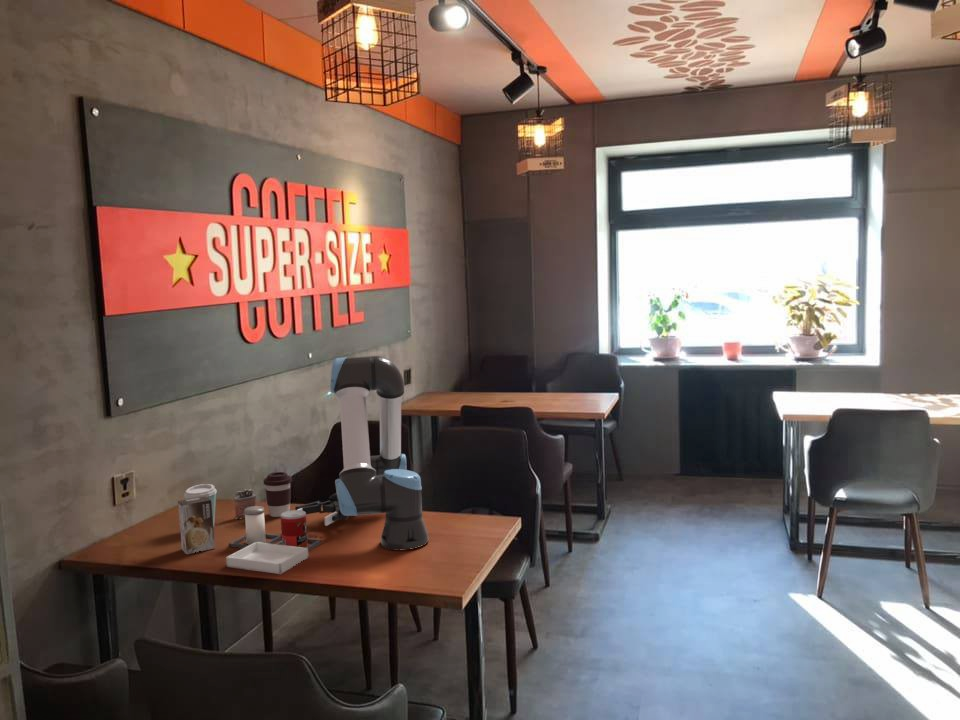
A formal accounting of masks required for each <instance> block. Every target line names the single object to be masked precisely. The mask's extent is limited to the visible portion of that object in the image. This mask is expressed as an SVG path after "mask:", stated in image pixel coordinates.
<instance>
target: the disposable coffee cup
mask: <svg viewBox="0 0 960 720" xmlns="http://www.w3.org/2000/svg"><path fill="white" fill-rule="evenodd" d="M217 493H218V491H217V488H215V485H214V484H212V483H211V484H209V483H205V484H204V483H201V484H196V485H193V486H191V487H188V488H187V489H186V490H185V492H184V493H183V497H184V500H187V499H193V498H198V497H204V496H206V497H208V498H209V499H210V500H211V503H212V514H213V527H215V518H216V502H217V501H216V500H217Z"/></svg>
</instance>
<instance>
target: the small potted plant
mask: <svg viewBox="0 0 960 720" xmlns="http://www.w3.org/2000/svg"><path fill="white" fill-rule="evenodd" d="M237 496H238V497H237ZM233 501H234V509H235V510H234V512H235V517H234V519H235V518H237V519H240V518H245V514H244V509H246V508H248V507H253V506H257V494H254V489H252V488H250V489H246V488H244V489H243V490H237V491H236V492H235V498H233Z"/></svg>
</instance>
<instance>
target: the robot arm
mask: <svg viewBox="0 0 960 720" xmlns="http://www.w3.org/2000/svg"><path fill="white" fill-rule="evenodd" d="M401 373H402V372H401V371H400V370H399V368H398V367H397V365H395V364H394V363H393V361H391V360H390V359H388V358H386V357H384V356H382V355H372V356H367V355H366V356H353V357H351V356H348V357H347V356H345V357H337V358H334V360H333V361H332V363H331V374H330V386H329V387H330V393H333V394H334V397H335V399H336V400H337V401H338V402H339V404H340V405H339V408H340V421H341V423H340V424H341V425H340V426H341V441H342V459H343V461H342V462H343V469H342V470H341V471H340V472H339V475H338V476H339V478H337V479H335V481H334V484H335V490H336V492H335V493H333V494H332V495H330V496H329V497H328V499H327V501H326V500H325V501H324V502H321V500H317V501H313V502H310V503H305V504H301V505H297V506H295V508H294V510H301V511H305V512H306V515H311V514H316V513H317V514H325V513H326V514H328V515H326V516H324V526H326V527H327V526H329V525H330V524H333V523H334V522H336V521H338V520H339V521H340V520H346V521H347V520H348V519H349V517H350V516H351V517H352V516H353V517H354V516H355V517H358V516H363V515H364V516H366V515H377V514H378V515H379V514H385V522H384V525H383V529H382V531H381V536H380V543H381V544H380V545H381V546H382V548H384V547H386V548H385V549H387V548H389V549H388V550H390V549H399V550H398V551H401V550H400V549H410V548H415V547H418V546H421V545H424V544H425V543H427V542H428V540H429V538H430V535H429V532H428V530H427V527H426V524H425V522H424V519H423V502H422V501H423V500H422V489H423V487H422V480H421V479H422V478H421V476H420V474H419V473H417V472H415V471H412V470H408V469H407V456H406V454H405V453H402V398H403V396H404V394H405V382H404V377H403V375H402V374H401ZM371 391H376V392H375V394H376V395H377V396H378V397H379V455H371V450H370V449H371V448H370V437H369V424H368V423H369V421H368V409H367V407H368V406H367V400H368V399H369V398H370V396H371ZM428 543H429V542H428Z"/></svg>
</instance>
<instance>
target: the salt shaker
mask: <svg viewBox="0 0 960 720" xmlns="http://www.w3.org/2000/svg"><path fill="white" fill-rule="evenodd" d="M244 514H245V519H244V521H245V535H246V540H245V541H246V545H247V544H248V545H251V544H253V543H255V542H261V543H264V542H265V543H267V539H266V538H267V537H265V533H266V522H265V506H262V505H261V506H260V505H256V506H253V507H248V508H246V509H244Z"/></svg>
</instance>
